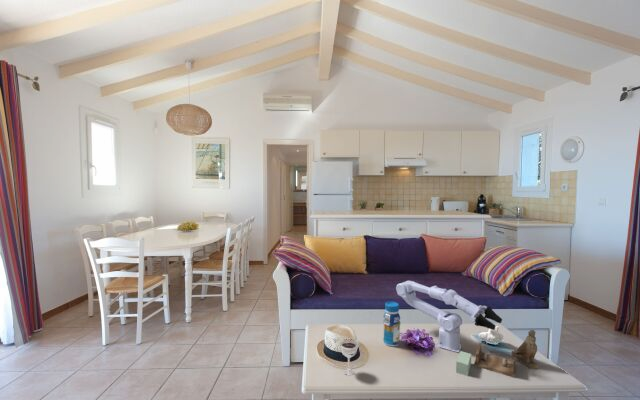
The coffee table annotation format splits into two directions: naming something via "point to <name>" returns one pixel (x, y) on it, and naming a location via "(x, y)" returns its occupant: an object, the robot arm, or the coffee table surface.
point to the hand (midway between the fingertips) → (498, 324)
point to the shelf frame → (495, 362)
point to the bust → (491, 335)
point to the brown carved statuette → (527, 351)
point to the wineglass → (348, 353)
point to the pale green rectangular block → (463, 363)
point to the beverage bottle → (391, 324)
